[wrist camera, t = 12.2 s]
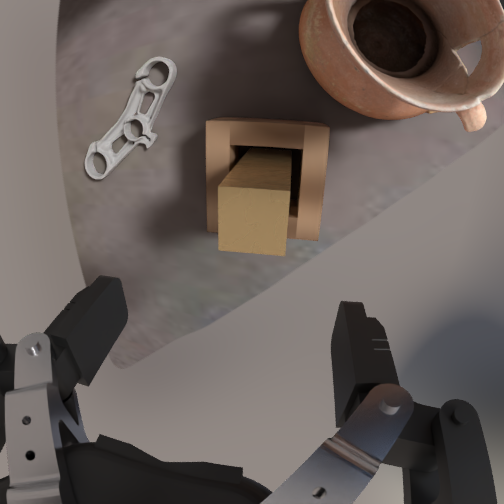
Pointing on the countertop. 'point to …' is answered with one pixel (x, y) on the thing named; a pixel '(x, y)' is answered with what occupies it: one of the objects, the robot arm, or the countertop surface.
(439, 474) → the robot arm
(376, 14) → the ceramic jug
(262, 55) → the countertop surface
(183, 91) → the countertop surface
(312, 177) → the walnut block
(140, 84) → the bracket
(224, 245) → the tan wooden square peg
